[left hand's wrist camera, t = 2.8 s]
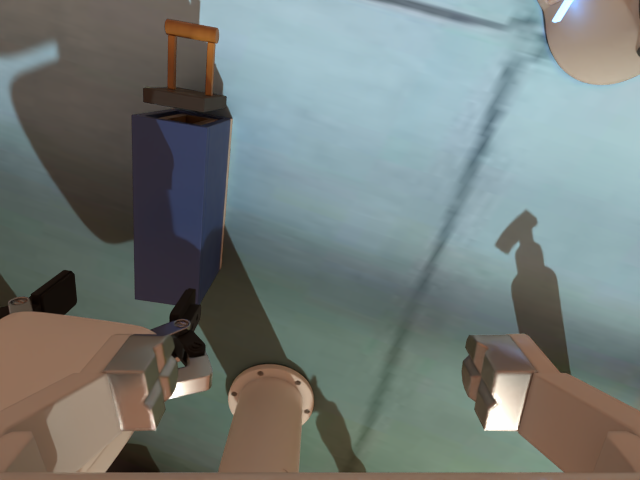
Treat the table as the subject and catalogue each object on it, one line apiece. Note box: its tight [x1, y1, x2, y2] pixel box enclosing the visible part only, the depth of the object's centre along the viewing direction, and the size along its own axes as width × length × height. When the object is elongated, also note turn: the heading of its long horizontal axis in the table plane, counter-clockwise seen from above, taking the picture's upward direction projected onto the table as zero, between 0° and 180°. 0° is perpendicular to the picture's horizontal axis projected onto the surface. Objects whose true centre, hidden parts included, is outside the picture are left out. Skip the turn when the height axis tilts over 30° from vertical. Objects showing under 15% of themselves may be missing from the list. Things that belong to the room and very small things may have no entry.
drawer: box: [143, 19, 227, 125], centre depth 39 cm, size 23×5×8 cm, turn 171°
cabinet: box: [132, 109, 233, 305], centre depth 41 cm, size 18×6×10 cm, turn 171°
